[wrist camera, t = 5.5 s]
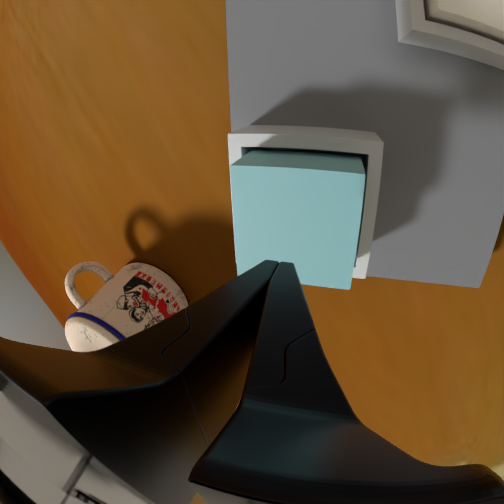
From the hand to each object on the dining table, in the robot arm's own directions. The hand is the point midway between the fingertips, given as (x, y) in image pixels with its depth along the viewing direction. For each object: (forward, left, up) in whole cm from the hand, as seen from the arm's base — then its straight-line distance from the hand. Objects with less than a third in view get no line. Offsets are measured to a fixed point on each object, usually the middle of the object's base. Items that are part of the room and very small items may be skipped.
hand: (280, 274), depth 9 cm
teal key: (0, 0, -6) cm, 6 cm away
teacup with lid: (+16, +12, -12) cm, 24 cm away
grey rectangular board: (-4, -6, -12) cm, 14 cm away
